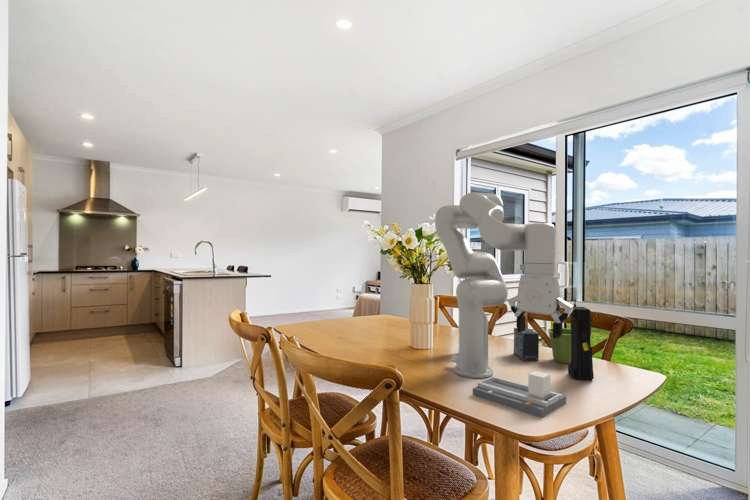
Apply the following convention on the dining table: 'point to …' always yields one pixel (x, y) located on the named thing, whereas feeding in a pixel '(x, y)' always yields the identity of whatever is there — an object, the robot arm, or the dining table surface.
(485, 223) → the robot arm
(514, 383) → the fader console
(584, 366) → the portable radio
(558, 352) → the plant pot
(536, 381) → the fader tab
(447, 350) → the dining table surface
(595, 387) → the dining table surface
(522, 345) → the small box
